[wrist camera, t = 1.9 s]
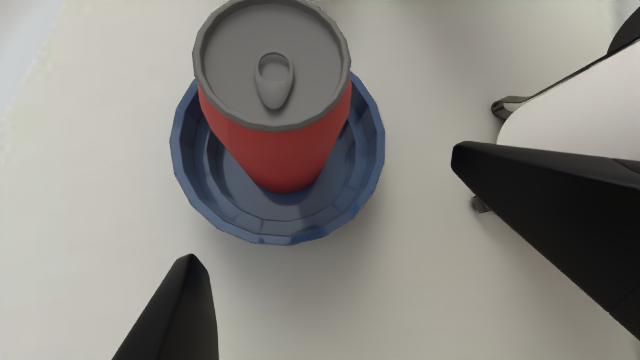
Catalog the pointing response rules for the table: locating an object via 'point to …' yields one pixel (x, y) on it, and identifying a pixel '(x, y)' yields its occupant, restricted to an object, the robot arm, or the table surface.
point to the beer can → (274, 87)
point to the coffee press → (583, 107)
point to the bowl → (269, 207)
